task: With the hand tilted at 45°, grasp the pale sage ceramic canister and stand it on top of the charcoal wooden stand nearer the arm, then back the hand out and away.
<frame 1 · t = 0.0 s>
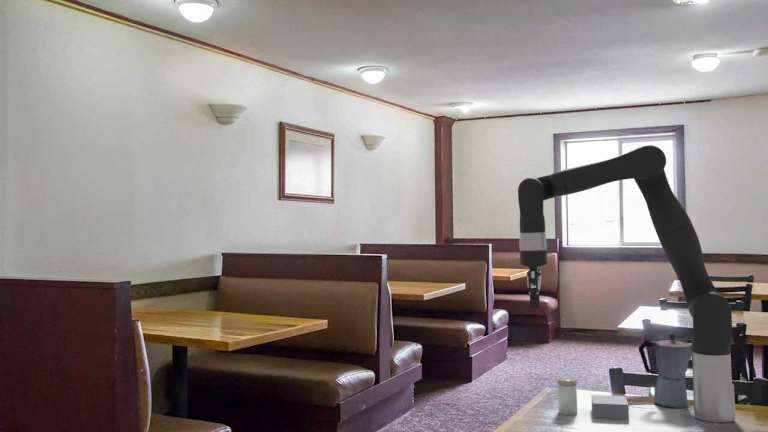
hand: (535, 306, 187), 29 cm above the table, tool pointing down, fingers open, 8 cm apart
moka pot: (669, 405, 188), on the table
canister: (567, 412, 183), on the table
stand: (609, 414, 180), on the table
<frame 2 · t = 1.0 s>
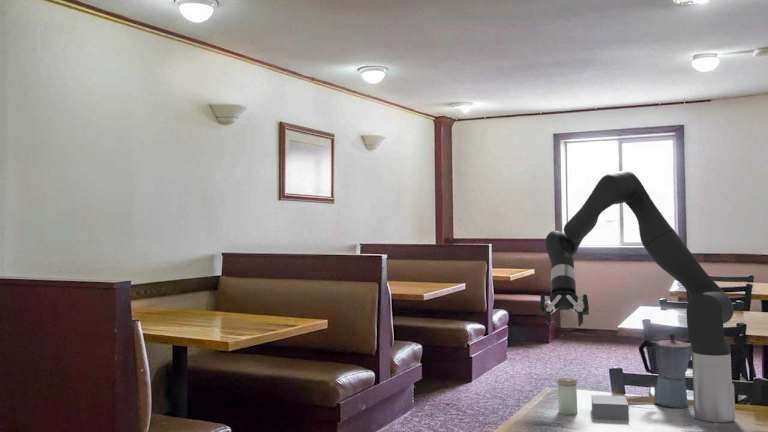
hand: (564, 324, 196), 22 cm above the table, tool tilted 45°, fingers open, 8 cm apart
nothing on the table moved.
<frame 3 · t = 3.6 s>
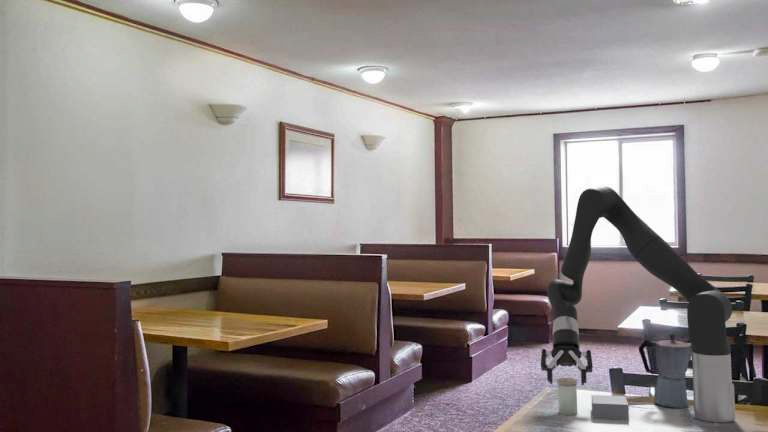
hand: (566, 382, 186), 8 cm above the table, tool tilted 45°, fingers open, 8 cm apart
nothing on the table moved.
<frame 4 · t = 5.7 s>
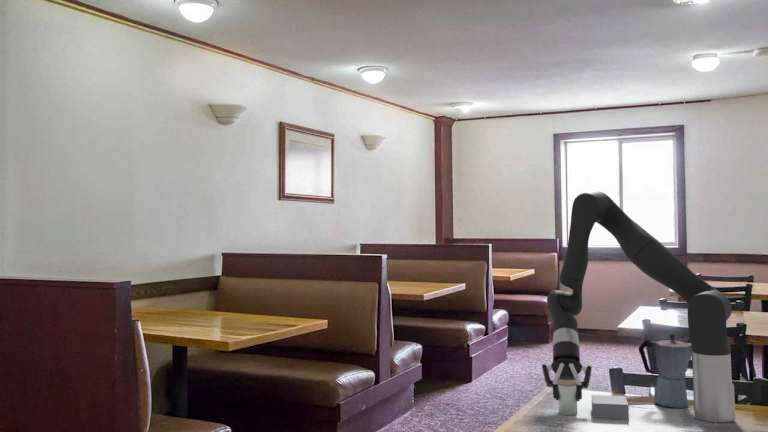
hand: (567, 399, 181), 4 cm above the table, tool tilted 45°, fingers closed on canister, 5 cm apart
canister: (568, 412, 183), on the table, touching gripper
everything else where it was.
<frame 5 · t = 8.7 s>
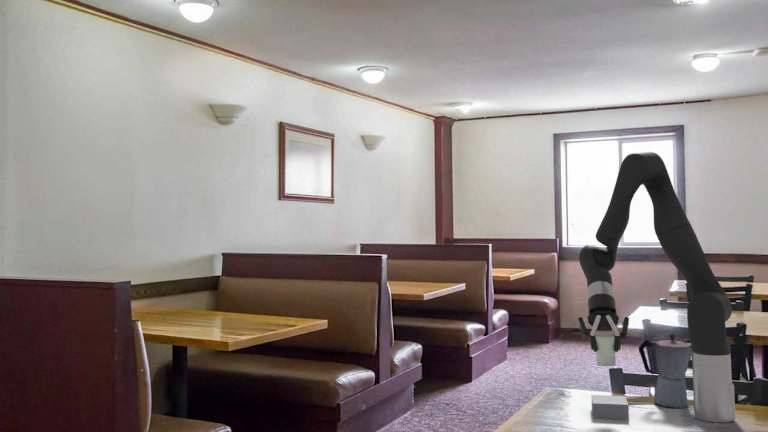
hand: (606, 350, 179), 18 cm above the table, tool tilted 45°, fingers closed on canister, 5 cm apart
canister: (606, 364, 180), point 14 cm above the table, touching gripper
everything else where it was.
when the fingers open (10 cm above the table, at t = 11.7 s): canister drops 1 cm, resting on stand.
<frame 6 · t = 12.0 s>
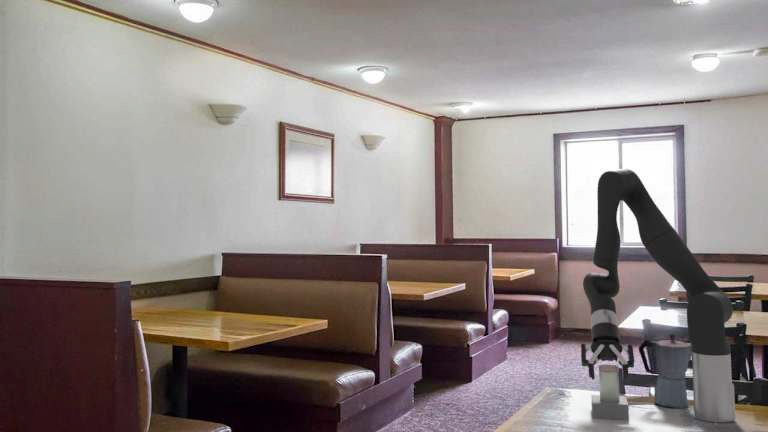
hand: (608, 378, 179), 10 cm above the table, tool tilted 45°, fingers open, 7 cm apart
canister: (609, 399, 180), point 4 cm above the table, touching stand
everything else where it was.
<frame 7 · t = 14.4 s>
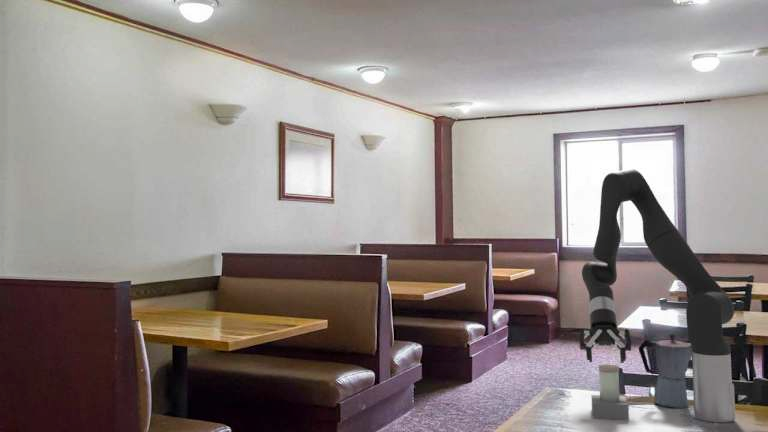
hand: (606, 361, 188), 13 cm above the table, tool tilted 45°, fingers open, 8 cm apart
nothing on the table moved.
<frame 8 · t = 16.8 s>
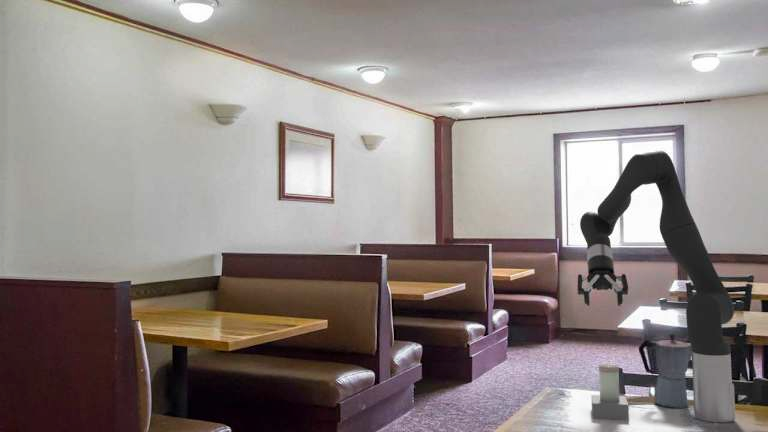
hand: (603, 304, 192), 29 cm above the table, tool tilted 45°, fingers open, 8 cm apart
nothing on the table moved.
at the end: canister 0.1 cm off-centre on the stand, point 4.0 cm above the stand's base; canister tilted 0°; the gripper is holding nothing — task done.
